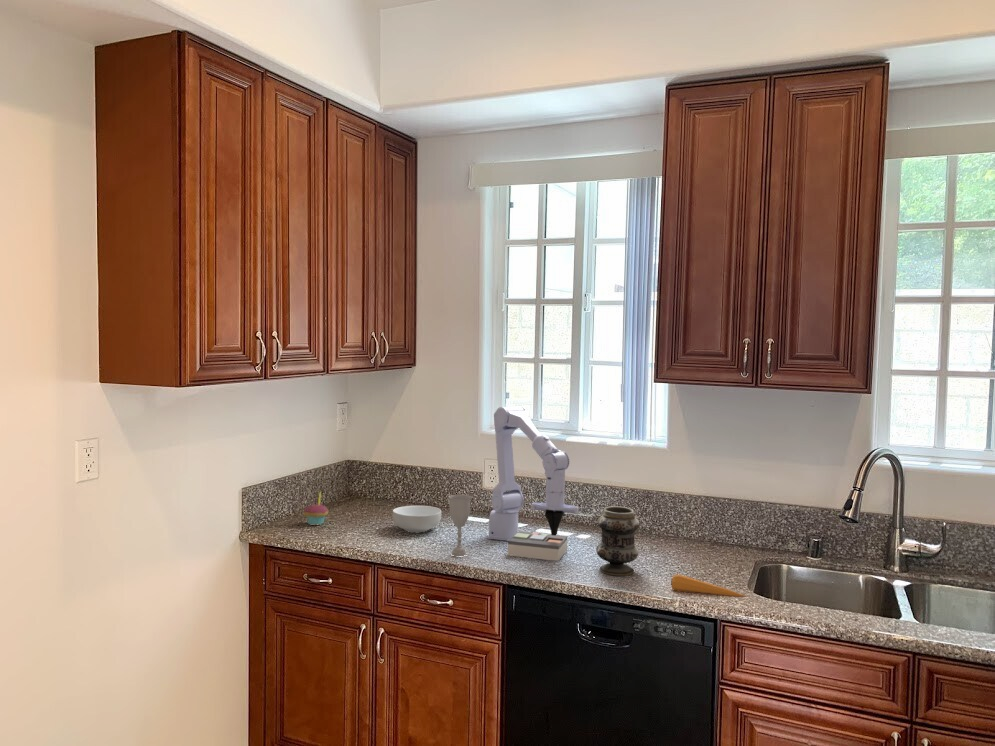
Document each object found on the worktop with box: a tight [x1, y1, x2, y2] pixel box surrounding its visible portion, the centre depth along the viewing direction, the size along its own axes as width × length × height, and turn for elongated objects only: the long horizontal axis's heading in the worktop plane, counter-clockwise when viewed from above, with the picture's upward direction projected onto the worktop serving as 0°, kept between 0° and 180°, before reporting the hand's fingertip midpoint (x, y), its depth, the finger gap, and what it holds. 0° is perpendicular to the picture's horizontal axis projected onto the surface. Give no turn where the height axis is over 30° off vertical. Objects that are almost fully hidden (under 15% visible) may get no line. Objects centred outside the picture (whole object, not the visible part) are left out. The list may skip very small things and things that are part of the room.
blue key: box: [530, 535, 546, 541], centre depth 229 cm, size 4×4×2 cm
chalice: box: [448, 494, 472, 556], centre depth 225 cm, size 7×7×18 cm
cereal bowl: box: [392, 505, 442, 533], centre depth 254 cm, size 17×17×7 cm
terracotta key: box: [547, 539, 561, 543], centre depth 227 cm, size 4×4×2 cm
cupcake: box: [303, 489, 329, 525], centre depth 259 cm, size 9×8×12 cm
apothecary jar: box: [595, 505, 640, 577], centre depth 212 cm, size 12×12×18 cm
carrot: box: [670, 574, 748, 598], centre depth 195 cm, size 20×4×4 cm, turn 74°
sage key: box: [514, 533, 530, 539], centre depth 231 cm, size 4×4×2 cm
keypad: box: [507, 530, 568, 562], centre depth 229 cm, size 16×12×5 cm
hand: (554, 534), depth 227 cm, fingers closed
